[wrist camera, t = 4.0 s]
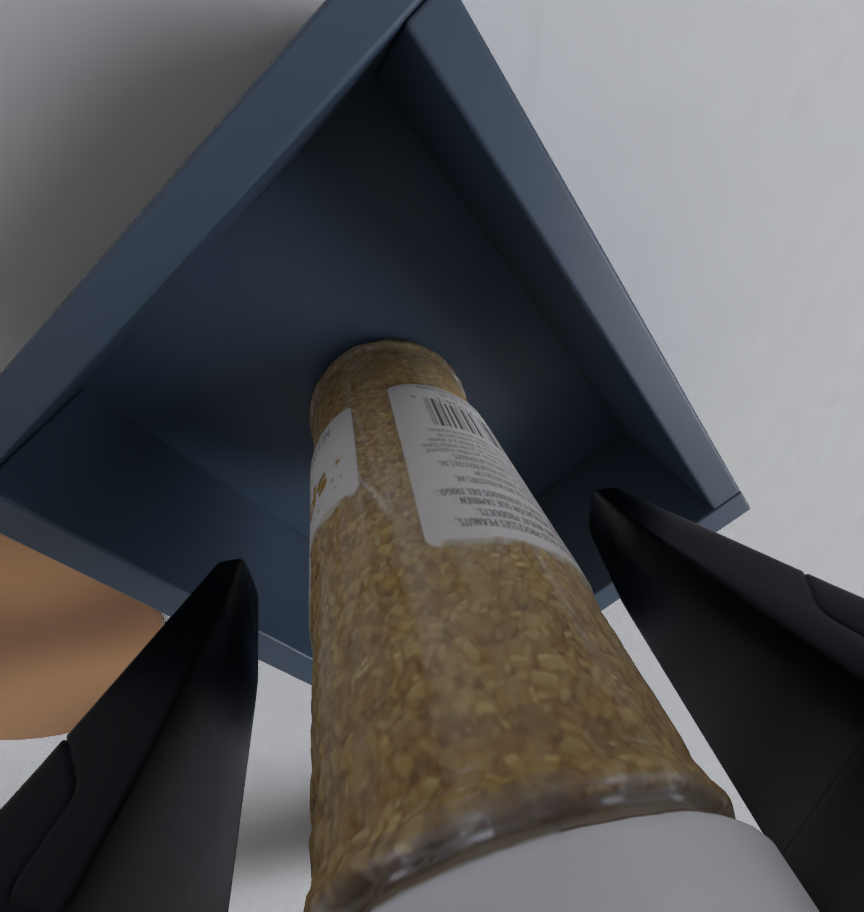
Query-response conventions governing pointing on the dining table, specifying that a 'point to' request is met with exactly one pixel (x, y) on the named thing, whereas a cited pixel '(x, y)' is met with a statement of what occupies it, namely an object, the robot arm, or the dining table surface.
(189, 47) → the dining table surface
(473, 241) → the bin
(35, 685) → the cork coaster
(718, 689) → the robot arm
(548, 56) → the dining table surface
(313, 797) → the sprinkles bottle
